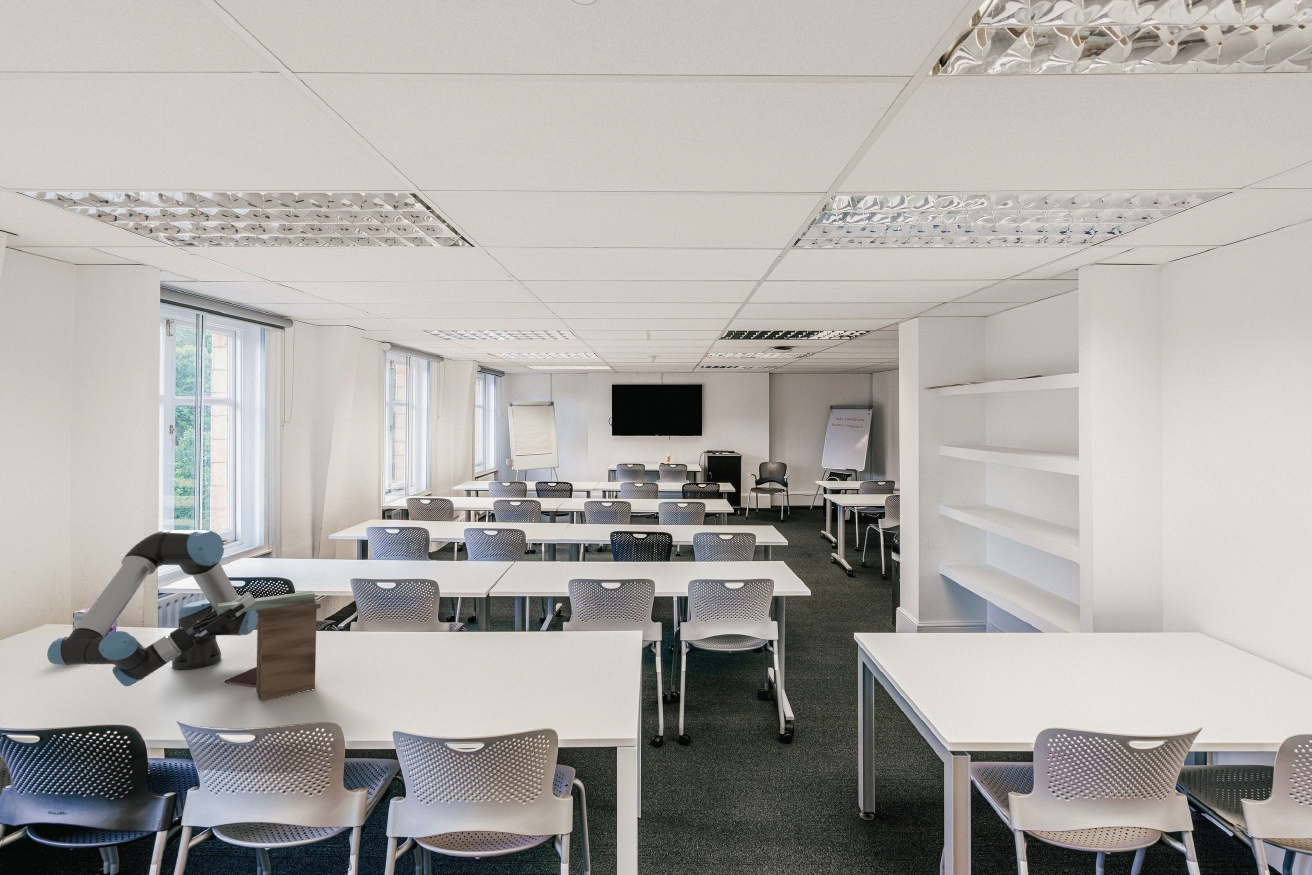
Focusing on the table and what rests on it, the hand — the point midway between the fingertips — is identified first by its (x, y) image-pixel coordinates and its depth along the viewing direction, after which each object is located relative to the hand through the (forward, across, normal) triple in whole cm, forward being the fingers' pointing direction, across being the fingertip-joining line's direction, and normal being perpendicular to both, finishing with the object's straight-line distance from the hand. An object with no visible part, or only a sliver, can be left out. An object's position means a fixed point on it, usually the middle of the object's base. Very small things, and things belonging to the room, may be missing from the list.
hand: (252, 596), depth 207 cm
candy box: (-52, -92, -10) cm, 106 cm away
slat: (+2, 0, -6) cm, 6 cm away
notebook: (-11, -20, -34) cm, 41 cm away
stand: (-8, 0, -35) cm, 36 cm away
